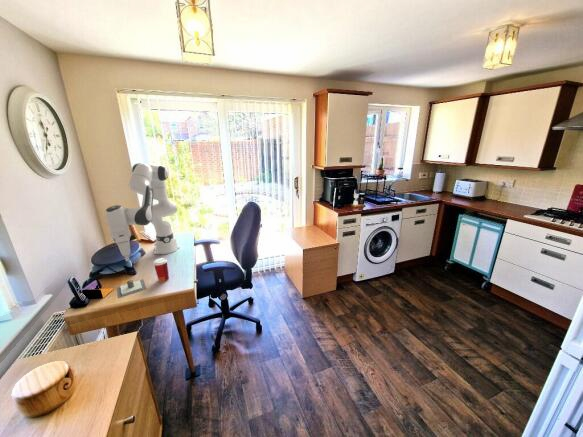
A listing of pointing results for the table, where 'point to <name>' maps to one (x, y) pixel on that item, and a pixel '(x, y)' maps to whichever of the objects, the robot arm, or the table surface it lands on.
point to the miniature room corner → (95, 291)
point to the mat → (131, 292)
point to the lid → (130, 287)
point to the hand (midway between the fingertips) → (126, 257)
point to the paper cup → (161, 269)
